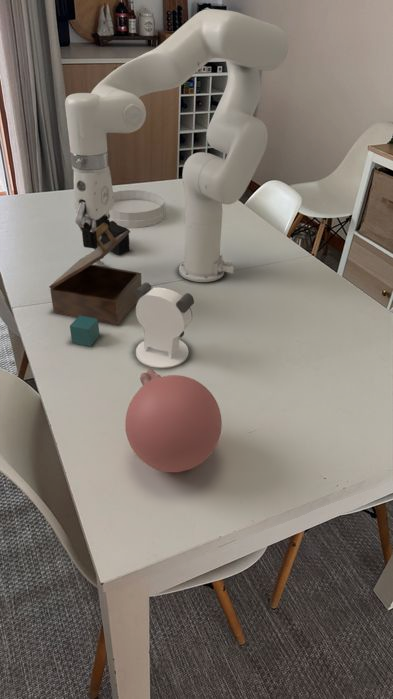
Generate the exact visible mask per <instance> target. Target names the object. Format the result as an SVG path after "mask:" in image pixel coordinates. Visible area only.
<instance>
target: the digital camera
mask: <svg viewBox="0 0 393 699" xmlns="http://www.w3.org/2000/svg"><path fill="white" fill-rule="evenodd" d="M127 230H129V231H130V228H125V227H122V226H119V225H117V223H116V222H114V221H110V233H111V234H112V236H113V237H114V238H116V237H117V236H119V235H121V234H122V233H124V232H125V231H127ZM100 241H101V242H102V243H103V245H104V244H106V243H108V242H109V241H111V240H110V238H109V237H106V236H102V237H101V240H100ZM98 246H99V245H98ZM99 247H100V246H99ZM130 251H131V250H130V233H129V234H128V235H127V236H126V237H125V238H123V239H122V240H121V241H120V242H119V243H118V244H117V245H116V246H115V247H114V248H113V249H112V250H111V251H110V252H111V253H113V254H115V255H117V256H121V255H124V254H126V253H129V252H130ZM110 252H109V253H110Z"/></svg>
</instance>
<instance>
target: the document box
mask: <svg viewBox="0 0 393 699" xmlns="http://www.w3.org/2000/svg"><path fill="white" fill-rule="evenodd" d="M142 285H143V284H142V272H138V271H132V270H126V269H121V268H115V267H109V266H106V267H104V266H98V265H93V264H92V265H90V266H89V267H87V268H85V269H84V270H82V271H80V272H79V273H77V274H75V275H74V276H72V277H70V278H69V279H67V280H65V281H64V282H62V283H60V284H59V285H57V286H55V287H54V288H52V289H50V288H49V289H50V290H49V291H50V297H51V303H52V310H53V313H54V314H59V315H63V316H68V317H74V318H78V316H79V315H80V316H85V317H90V318H95V319H98V323H104V324H109V325H114V326H118V325H120V324H121V322H122V321H123V319H124V318H125V317H126V315H127V314H128V313H129V312H130V310H132V308H133V307H134V305H135V304H137V302H138V300H139V299H140V298H137V297H136V296H135V291H136V290H137V289H138V288H139V287H140V286H142Z"/></svg>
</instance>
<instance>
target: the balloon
mask: <svg viewBox="0 0 393 699" xmlns="http://www.w3.org/2000/svg"><path fill="white" fill-rule="evenodd" d="M139 380H140V382H141V384H142V386H141V387H139V389H138V391H137V392H135V394H134V395H133V397H132V399H131V400H130V402H129V404H128V407H127V410H126V414H125V422H124V424H125V427H124V428H125V435H126V438H127V441H128V444H129V446H130V448H131V449H132V451H133V453H134V454H135V456H136V457H138V458H139V460H140V461H141V462H142V463H144V464H146V465H147V466H149V467H151V468H152V469H155V470H157V471H161V472H164V473H182V472H186V471H189V470H192V469H194V468H196V467H198V466H200V465H202V464H203V463H204V462H205V461H206V460H207V459H208V458H209V457H210V456H211V455H212V453H213V452H214V451H215V449H216V448H217V445H218V444H219V440H220V438H221V433H222V427H223V426H222V425H223V423H222V421H223V420H222V414H221V409H220V407H219V406H220V405H219V404H218V402H217V400H216V398H215V396H214V395H213V394H212V392H211V391H210V390H209V389H208V388H207V387H206V386H205V385H204V384H202V383H201V382H200V381H198V380H196V379H194V378H191V377H188V376H185V375H179V374H170V375H169V374H168V375H163V376H161V375H160V374H158V373H156V372H155V369H153V368H148V369H147V372H142V373H141V374H140V378H139Z"/></svg>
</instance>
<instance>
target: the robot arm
mask: <svg viewBox="0 0 393 699" xmlns="http://www.w3.org/2000/svg"><path fill="white" fill-rule="evenodd" d="M288 52H289V40H288V37H287V34H286V32H285V31H284V30H283V29H282V28H281V27H280V26H278V25H275V24H272V23H270V22H268V21H267V22H266V21H263V20H261V19H258V18H255V17H252V16H249V15H247V14H244V13H241V12H238V11H234V10H226V9H218V8H217V9H215V8H206V9H201V11H199V12H197V13H195V14H194V15H193V16H192V17H190V18H189V19H188V20H187V21H186V22H185V23H183V24H182V25H181V26H180V27H179V28H178V29H176V30H175V32H173V33H172V34H171V35H170V36H168V38H166V39H165V40H164V41H162V42H161V43H160V44H159V45H158V46H156V47H155V48H153V49H152V50H150V51H147V52H145V53H143V54H141V55H139V56H137V57H135V58H132V59H131V60H128V61H127V62H125V63H123V64H121V65H120V66H117V67H116V68H115V69H114V70H112V72H110V73H109V74H108V75H107V76H106V77H104V78H103V79H102V80H100V81H99V82H98V84H97V85H96V86H95V87H93V89H92V90H91V92H76V93H71V94H69V95H68V96H67V97H66V98H65V100H64V108H65V118H66V126H67V133H68V134H67V135H68V143H69V152H70V162H71V169H72V170H73V197H74V199H73V200H74V208H75V213H76V217H75V220H74V221H75V224H76V225H77V226H78V228H79V230H80V231H81V236H82V244H83V248H86V249H87V248H88V249H93V250H94V249H96V248H97V247H98V246H97V235H96V231H94V227H95V220H96V228H97V227H98V226H100V225H101V224H102V223H106V224H107V225H108V230H109V231H110V222H109V220H108V219H109V218H110V214H109V210H111V209H112V207H113V206H114V197H113V192H114V189H113V182H112V181H113V180H112V175H111V170H110V166H109V165H110V164H109V152H108V141H107V140H108V139H107V134H110V133H111V134H130V133H133V132H136V131H138V130H139V129H141V127H142V126H143V125H144V124H145V122H146V118H147V109H146V106H145V104H144V102H143V101H142V99H141V97H143V96H145V95H148V94H151V93H155V92H156V93H157V92H162V91H168V90H169V91H170V90H173V89H176V88H178V87H181V86H183V85H184V84H185V83H186V82H187V81H188V80H189V79H191V78H192V77H193V76H194V75H195V74H196V73H197V72H198V71H200V69H202V68H204V66H205V65H206V64H208V63H209V62H210V61H211V60H212V59H216V58H217V59H221V60H222V59H223V60H225V64H226V70H227V81H226V86H225V88H224V90H223V93H222V96H221V98H220V100H219V102H218V104H217V107H216V108H215V111H214V113H213V115H212V117H211V120H210V122H209V124H208V126H207V130H206V134H205V135H206V136H205V137H206V142H207V143H208V145H209V146H210V147H211V148H213V149H214V150H217V151H219V152H220V153H222V154H225V155H226V157H225V159H224V158H223V157H220V156H217V155H215V154H212V153H209V152H205V151H204V152H203V151H199V152H195V153H193V154H191V155H190V156H188V157H187V159H186V160H185V162H184V165H183V167H182V176H181V177H182V184H183V190H184V198H185V222H184V225H185V226H184V227H185V228H184V261H183V262H181V263H180V265H178V273H179V275H180V276H181V277H182V278H184V279H186V280H188V281H191V282H196V283H211V282H215V281H218V280H219V279H221V278H222V277H223V276H224V275H225V273H227V274H234V273H235V266H234V265H233V263H232V262H230V261H224V260H223V255H221V243H222V242H221V241H222V228H223V227H222V226H223V205H227V206H228V205H233V204H235V203H236V202H238V201H239V200H240V199H241V198H242V197H243V195H244V194H245V192H246V190H247V189H248V187H249V185H250V183H251V181H252V179H253V177H254V175H255V172H256V171H257V169H258V166H259V164H260V162H261V161H262V158H263V156H264V154H265V152H266V150H267V146H268V138H269V136H268V135H269V134H268V128H267V126H266V124H265V123H264V122H263V121H262V119H260V118H258V117H256V116H254V115H255V112H256V109H257V108H258V105H259V102H260V99H261V94H262V83H261V77H260V76H261V75H260V71H263V72H271V71H275V70H276V69H278V68H279V67H281V65H283V63H284V62H285V60H286V58H287V56H288ZM259 70H260V71H259ZM85 214H89V216H90V217H87V216H85ZM86 219H87V220H90V225H89V224H88V223H86ZM101 236H106V237H108V236H107V234H106V233H105V232H104V233H103V234H102V235H101Z"/></svg>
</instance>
